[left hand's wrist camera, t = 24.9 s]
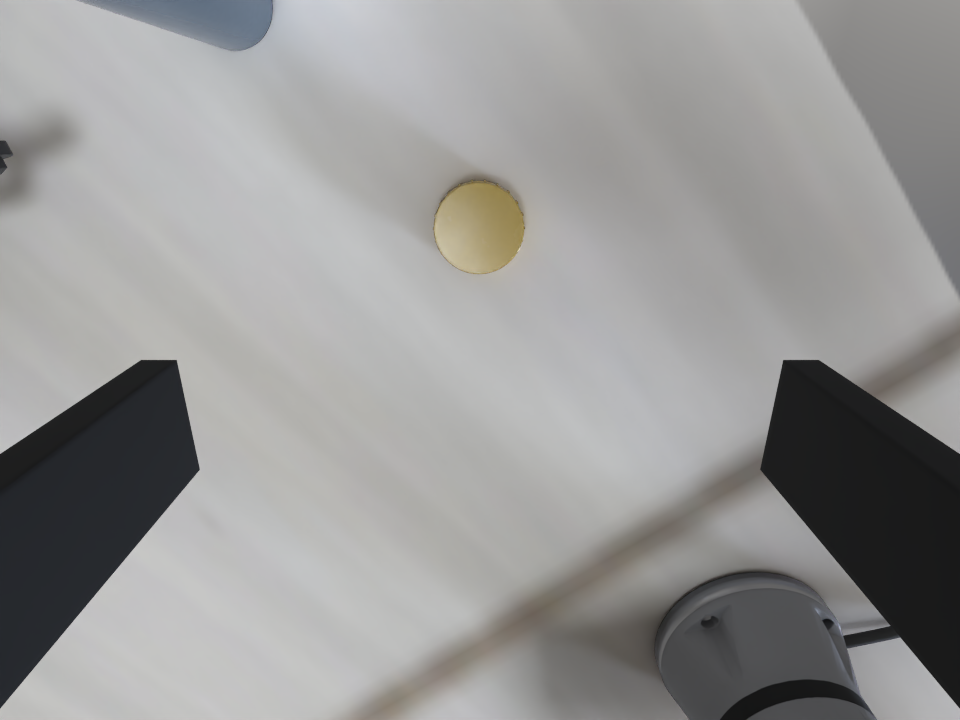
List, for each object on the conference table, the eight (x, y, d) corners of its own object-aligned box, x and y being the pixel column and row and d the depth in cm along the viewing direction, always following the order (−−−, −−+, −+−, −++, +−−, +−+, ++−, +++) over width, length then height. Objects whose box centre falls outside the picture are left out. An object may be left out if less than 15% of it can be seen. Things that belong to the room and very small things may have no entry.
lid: (443, 275, 38) (441, 281, 37) (427, 186, 36) (424, 189, 34) (528, 262, 38) (530, 268, 36) (516, 172, 36) (518, 174, 34)
